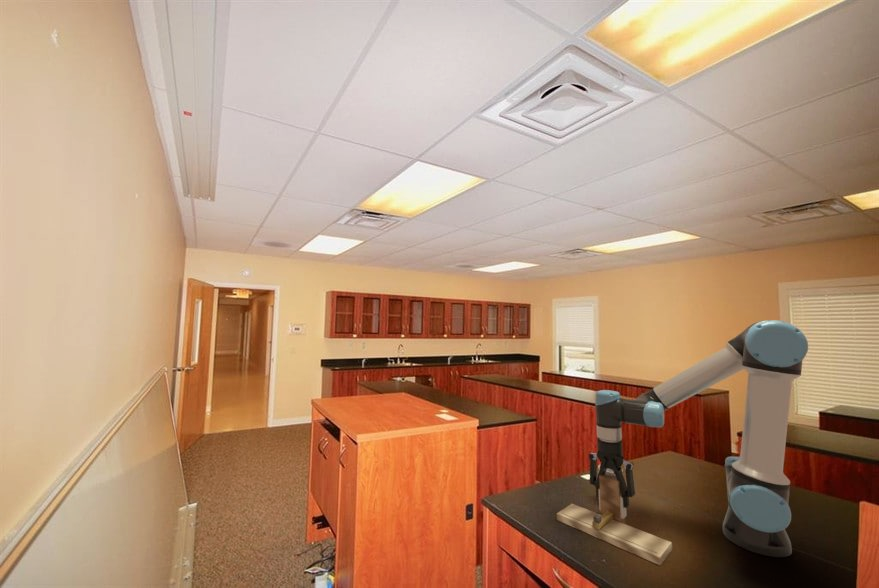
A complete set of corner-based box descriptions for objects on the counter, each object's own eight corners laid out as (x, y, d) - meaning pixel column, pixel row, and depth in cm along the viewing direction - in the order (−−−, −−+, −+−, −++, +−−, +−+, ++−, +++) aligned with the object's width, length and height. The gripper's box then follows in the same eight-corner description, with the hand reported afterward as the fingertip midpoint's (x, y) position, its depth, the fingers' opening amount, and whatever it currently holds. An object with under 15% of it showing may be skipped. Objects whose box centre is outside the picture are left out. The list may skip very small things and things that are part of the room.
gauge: (625, 523, 114) (623, 478, 116) (606, 541, 105) (604, 491, 106) (606, 516, 119) (604, 472, 120) (586, 532, 109) (584, 484, 111)
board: (672, 549, 101) (671, 542, 101) (660, 565, 94) (659, 557, 94) (572, 509, 123) (572, 503, 123) (556, 519, 117) (556, 513, 117)
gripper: (645, 443, 113) (649, 520, 111) (586, 430, 127) (589, 498, 125) (636, 448, 108) (640, 529, 106) (576, 434, 122) (578, 506, 120)
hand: (612, 512), depth 115 cm, fingers closed on gauge, 6 cm apart
